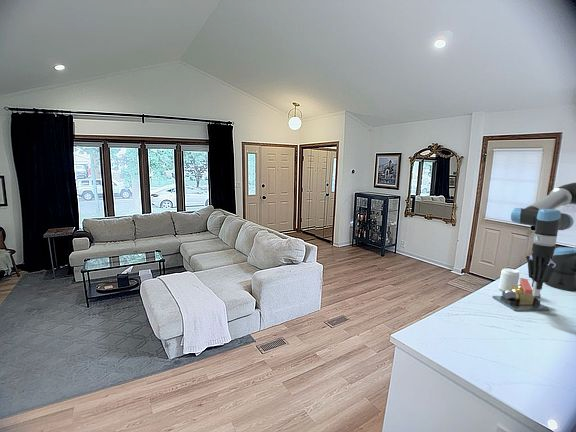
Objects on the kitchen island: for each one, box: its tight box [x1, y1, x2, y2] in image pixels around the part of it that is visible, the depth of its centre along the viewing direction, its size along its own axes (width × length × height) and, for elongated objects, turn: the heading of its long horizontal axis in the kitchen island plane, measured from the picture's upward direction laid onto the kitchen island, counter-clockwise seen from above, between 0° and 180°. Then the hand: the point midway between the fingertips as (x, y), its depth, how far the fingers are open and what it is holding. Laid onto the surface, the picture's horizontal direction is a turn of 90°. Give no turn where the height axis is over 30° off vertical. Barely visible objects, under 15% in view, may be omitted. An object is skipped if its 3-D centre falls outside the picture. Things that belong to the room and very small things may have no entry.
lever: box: [519, 277, 533, 295], centre depth 143 cm, size 17×3×4 cm, turn 148°
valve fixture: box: [492, 284, 550, 312], centre depth 150 cm, size 18×14×10 cm
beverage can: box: [498, 267, 520, 292], centre depth 166 cm, size 8×8×12 cm
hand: (535, 295), depth 134 cm, fingers closed
